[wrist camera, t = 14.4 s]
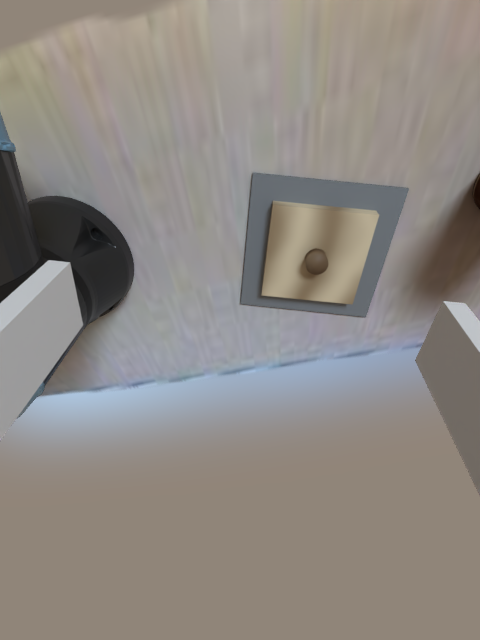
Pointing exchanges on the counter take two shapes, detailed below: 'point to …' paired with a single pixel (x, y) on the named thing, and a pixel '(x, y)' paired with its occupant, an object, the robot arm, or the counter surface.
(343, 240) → the bamboo lid
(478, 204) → the coffee cup
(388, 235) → the rubber mat
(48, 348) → the robot arm
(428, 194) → the counter surface
